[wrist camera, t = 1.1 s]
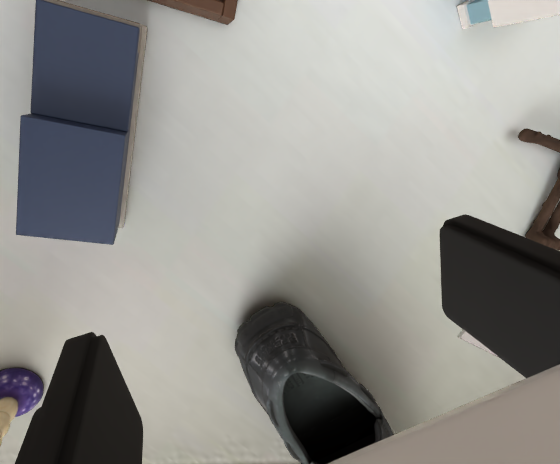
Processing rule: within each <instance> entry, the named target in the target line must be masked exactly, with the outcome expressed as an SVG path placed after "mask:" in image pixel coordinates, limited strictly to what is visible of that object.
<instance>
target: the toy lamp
mask: <svg viewBox="0 0 560 464" xmlns="http://www.w3.org/2000/svg"><path fill="white" fill-rule="evenodd" d="M42 395H43V383H42V381H41V379H40V378H39V377H38V376H37V375H36V374H35V373H33V372H32V371H29V370H26V369H23V368H9V369H4V370H1V371H0V446H1V443H2V438H3V437H4V436H5V434H6V433H7V431H8V429H9V427H10V422H11V421H12V420H13V419H14V417H16V416H20V415H23V414H25V413H27V412H28V411H30V410H31V409H32V408H34V407H35V406H36V404H37V403H38V402H39V401H40V399H41V398H42Z"/></svg>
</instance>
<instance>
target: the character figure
mask: <svg viewBox="0 0 560 464" xmlns="http://www.w3.org/2000/svg"><path fill="white" fill-rule="evenodd" d="M457 9H458V13H459V17H460V21H461V25H462V29H466V28H470V27H471V26H473V25H475V24H477V23H480V22H485V21H489V20H492V24H493V28H495V27H500V26H505V25H510V24H516V23H521V22H526V21H531V20H536V19H541V18H547V17H552V16H557V15H560V0H467V1H466V2H464V3H462V4H460V5H459V6H457Z"/></svg>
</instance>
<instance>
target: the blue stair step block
mask: <svg viewBox="0 0 560 464" xmlns="http://www.w3.org/2000/svg"><path fill="white" fill-rule="evenodd" d="M146 37H147V26H144V25H141V24H140V23H136V22H132V21H129V20H125V19H122V18H118V17H115V16H111V15H108V14H104V13H101V12H97V11H94V10H90V9H87V8H83V7H80V6H76V5H73V4H69V3H66V2H62V1H59V0H36V10H35V31H34V52H33V74H32V95H31V113H32V114H27V115H22V116H21V124H20V148H19V173H18V198H17V223H16V235H24V236H33V237H43V238H53V239H63V240H72V241H82V242H92V243H102V244H111V245H113V244H114V241H115V237H116V234H117V230H118V228H123V227H124V223H125V215H126V206H127V198H128V189H129V181H130V173H131V164H132V156H133V147H134V139H135V130H136V122H137V113H138V105H139V96H140V88H141V80H142V71H143V63H144V54H145V46H146Z"/></svg>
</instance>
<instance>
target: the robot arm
mask: <svg viewBox="0 0 560 464" xmlns="http://www.w3.org/2000/svg"><path fill="white" fill-rule="evenodd" d="M440 257H441V287H442V308H443V311H444V313H445V314H446V316H447V317H448V318H449V319H451V320H452V321H453V322H454V323H456V324H457V325H458V326H460V327H461V328H462V329H463V330H465V331H466V332H467V333H469V334H470V335H471V336H473V337H474V338H475V339H476V340H478V341H479V342H480V343H482V344H483V345H484V346H485V347H487V348H488V349H489V350H491V351H492V352H493V353H494V354H496V355H497V356H498V357H500V358H501V359H502V360H504V361H505V362H506V363H507V364H509V365H510V366H511V367H513V368H514V369H515V370H516V371H518V372H519V373H520V374H522V375H523V376H524V377H526V379H524V380H522V381H519V382H517V383H514V384H512V385H510V386H507V387H505V388H502V389H500V390H498V391H495V392H493V393H491V394H488V395H486V396H484V397H481V398H479V399H477V400H474V401H472V402H470V403H467V404H465V405H463V406H460V407H458V408H455V409H453V410H451V411H448V412H446V413H444V414H441V415H439V416H437V417H434V418H432V419H430V420H427V421H425V422H423V423H420V424H418V425H416V426H413V427H411V428H409V429H406V430H404V431H402V432H399V433H397V434H395V435H392V436H390V437H388V438H385V439H383V440H381V441H378V442H376V443H374V444H372V445H369V446H367V447H365V448H362V449H360V450H358V451H355V452H353V453H351V454H348V455H346V456H344V457H342V458H339V459H337V460H335V461H332V462H330V463H328V464H560V251H558V250H556V249H553V248H550V247H548V246H545V245H543V244H540V243H538V242H535V241H533V240H530V239H528V238H525V237H523V236H520V235H518V234H515V233H512V232H510V231H507V230H505V229H502V228H500V227H497V226H495V225H492V224H490V223H487V222H485V221H482V220H480V219H477V218H474V217H472V216H469V215H462V216H458V217H455V218H452V219H449V220H446V221H445V222H444V225H443V227H442V228H441V229H440ZM142 447H143V425H142V421H141V417H140V415H139V412H138V410H137V408H136V405H135V403H134V401H133V399H132V396H131V394H130V392H129V390H128V387H127V385H126V383H125V381H124V378H123V376H122V374H121V372H120V369H119V367H118V365H117V363H116V360H115V358H114V356H113V353H112V351H111V349H110V347H109V344H108V342H107V340H106V338H105V337H104V336H103V335H100V336H96V335H95V334H94V333H93V332H90V333H87V334H84V335H81V336H77V337H74V338H71V339H68V340H66V342H65V344H64V347H63V349H62V352H61V355H60V358H59V360H58V363H57V366H56V368H55V371H54V374H53V377H52V379H51V382H50V385H49V388H48V390H47V393H46V396H45V399H44V401H43V404H42V407H40V408H39V409H37V410H36V412H35V413H34V415H33V417H32V420H31V423H30V425H29V428H28V430H27V433H26V436H25V438H24V441H23V444H22V446H21V449H20V451H19V454H18V457H17V459H16V462H15V464H142Z"/></svg>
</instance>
